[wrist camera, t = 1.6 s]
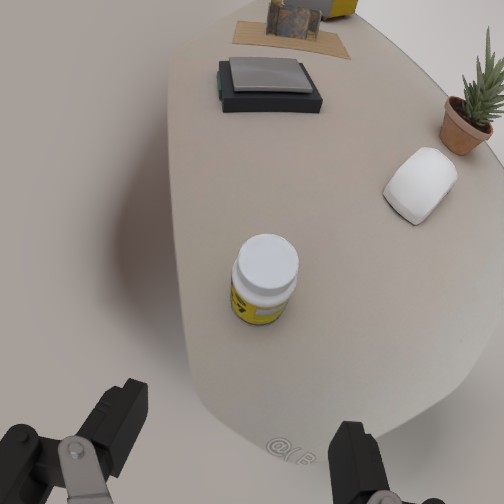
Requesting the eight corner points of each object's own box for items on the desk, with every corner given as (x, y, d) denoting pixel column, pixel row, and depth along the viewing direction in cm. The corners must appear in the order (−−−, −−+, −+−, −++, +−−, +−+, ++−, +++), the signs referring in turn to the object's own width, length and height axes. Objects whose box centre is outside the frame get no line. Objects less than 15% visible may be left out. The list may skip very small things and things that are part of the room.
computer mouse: (451, 188, 37) (473, 160, 32) (413, 233, 32) (440, 201, 27) (419, 158, 39) (437, 128, 34) (374, 195, 35) (395, 160, 29)
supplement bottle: (225, 282, 28) (225, 233, 21) (275, 272, 29) (293, 222, 21) (236, 333, 26) (241, 300, 18) (289, 321, 27) (314, 285, 19)
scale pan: (234, 91, 38) (234, 86, 37) (228, 61, 42) (228, 57, 42) (311, 93, 39) (312, 88, 38) (295, 62, 44) (296, 58, 43)
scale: (220, 112, 40) (220, 98, 37) (216, 73, 45) (216, 61, 43) (319, 113, 41) (323, 100, 39) (299, 74, 47) (302, 62, 45)
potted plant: (421, 127, 44) (477, 9, 22) (447, 123, 46) (500, 23, 24) (459, 169, 40) (534, 51, 18) (482, 161, 42) (547, 61, 20)
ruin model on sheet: (232, 43, 52) (234, 2, 43) (237, 20, 60) (240, -13, 51) (351, 59, 53) (362, 21, 45) (337, 34, 61) (344, 2, 53)
